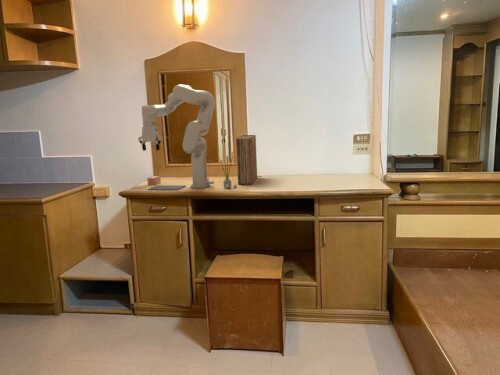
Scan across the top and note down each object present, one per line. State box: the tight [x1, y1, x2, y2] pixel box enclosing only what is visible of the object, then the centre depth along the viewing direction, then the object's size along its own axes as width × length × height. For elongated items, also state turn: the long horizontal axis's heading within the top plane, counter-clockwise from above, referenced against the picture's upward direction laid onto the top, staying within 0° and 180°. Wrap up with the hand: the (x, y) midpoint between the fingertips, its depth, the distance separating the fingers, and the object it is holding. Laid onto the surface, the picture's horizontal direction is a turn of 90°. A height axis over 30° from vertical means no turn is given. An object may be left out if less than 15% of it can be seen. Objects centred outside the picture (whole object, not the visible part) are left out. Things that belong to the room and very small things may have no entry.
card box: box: [147, 175, 162, 186], centre depth 265 cm, size 6×8×5 cm, turn 169°
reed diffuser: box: [218, 155, 238, 189], centre depth 240 cm, size 10×7×20 cm
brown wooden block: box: [235, 134, 258, 186], centre depth 259 cm, size 25×9×30 cm, turn 171°
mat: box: [148, 184, 186, 191], centre depth 248 cm, size 20×12×1 cm, turn 77°
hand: (151, 150), depth 261 cm, fingers open, 9 cm apart
